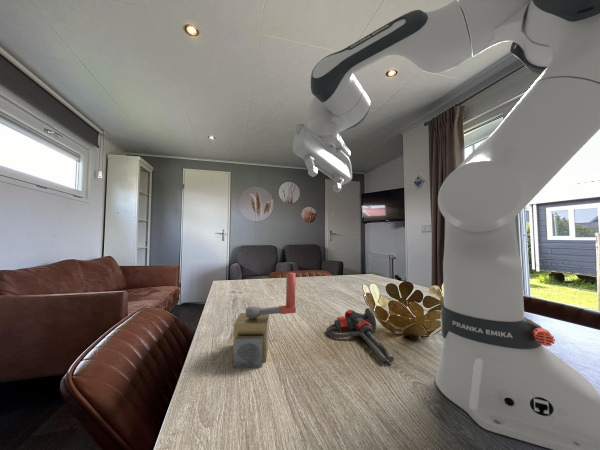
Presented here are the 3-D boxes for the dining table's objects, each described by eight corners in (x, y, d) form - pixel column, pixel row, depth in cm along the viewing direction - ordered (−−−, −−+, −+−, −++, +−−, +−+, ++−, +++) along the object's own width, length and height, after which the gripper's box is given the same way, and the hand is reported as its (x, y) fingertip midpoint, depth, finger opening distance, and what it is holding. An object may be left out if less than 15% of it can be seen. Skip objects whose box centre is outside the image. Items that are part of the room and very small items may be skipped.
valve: (321, 328, 73) (365, 320, 75) (346, 382, 47) (412, 369, 49) (318, 308, 73) (363, 301, 75) (342, 352, 47) (409, 339, 49)
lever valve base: (265, 367, 46) (266, 324, 47) (230, 367, 46) (232, 325, 46) (268, 342, 57) (269, 308, 58) (240, 343, 57) (241, 308, 57)
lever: (246, 318, 50) (248, 275, 51) (245, 313, 53) (246, 273, 54) (296, 313, 54) (297, 274, 55) (292, 309, 57) (293, 272, 58)
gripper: (305, 112, 54) (305, 156, 48) (353, 154, 67) (358, 193, 61) (288, 127, 59) (286, 170, 53) (336, 164, 71) (339, 202, 65)
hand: (325, 183), depth 57 cm, fingers open, 8 cm apart
